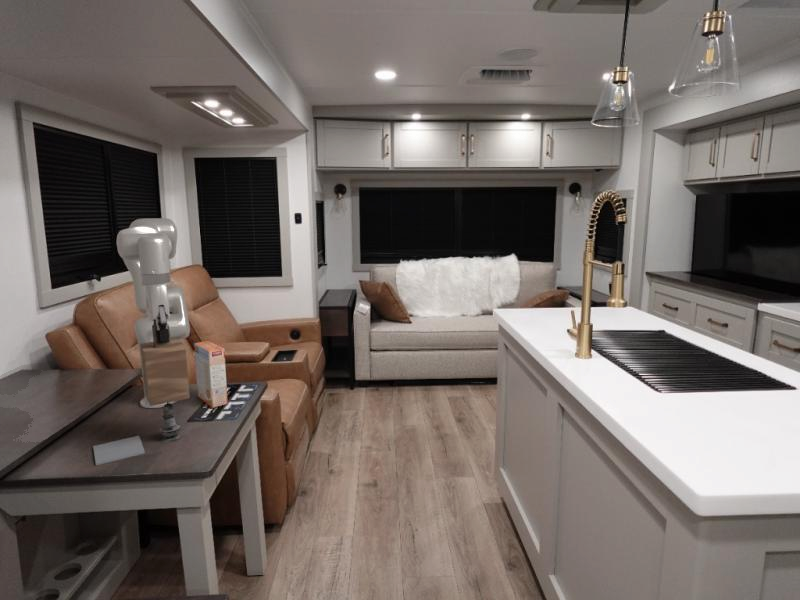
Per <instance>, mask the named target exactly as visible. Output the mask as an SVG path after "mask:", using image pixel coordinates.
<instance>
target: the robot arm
mask: <svg viewBox="0 0 800 600" xmlns="http://www.w3.org/2000/svg"><path fill="white" fill-rule="evenodd" d="M177 244H178V230H177V225H176V224H175V222H174V221H173V220H172V219H170V218H167V217H163V218H161V217H159V218H155V217H154V218H148V217H147V218H137V219H136V220H135V219H134V221H132V222H131V223H130V225H129V227H128V228H124V229H121V230H120V231H119V232H118V233H117V236H116V247H117V253H118V255H119V256H120V257H121V259H122V260H123V262H124V265H125V266H126V268H127V270H128V271H129V273H130V275H131V277H132V285H133V292H134V298H135V299H134V300H135V305H136V309H137V310H138V311H139V312H140V313H142V314H146V315H147V316H146V315H145V316H142V317H139V319H137V320H136V321H135V323H134V326H133V327H134V333H135V337H136V340H137V346H138V351H139V357H140V359H141V351H140V344H143V343H150V342H153V332H152V325H156V326H157V330H156V337H157V343H158V344H161V343H168V342H169V331H168V325H169V330H170V340H171V339H179V340H184V339H187V338H189V336H190V332H191V328H190V319H189V314H188V308H187V300H186V297H185V292H184V290H183V289H182V287H181V286H180V285H177V284H172V285H171V283H172V279H171V271H170V260H172V259H174V258H175V256H176V254H177V246H178V245H177ZM170 312H171V313H170ZM167 324H168V325H167ZM140 366H141V368H142V361H141V360H140ZM141 376H142V378H143V371H142V370H141ZM142 384H143V385H142V386H143V387H144V380H143V379H142ZM143 392H144V393H143V394H144V397H143V398H142V399H141V400H140V402H139V403H140V405H139V406H141V407H142V408H145V409H157V408H160V409H161V408H163V406H164V405H165V404H167V403H163V404H158V405H153V406H150V404H149V402H148V400H147V398H146V395H145V390H144V389H143ZM177 402H179V400H177V401H172V402H169V403H171V404H173V405H174V404H176V403H177Z"/></svg>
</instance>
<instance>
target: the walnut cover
mask: <svg viewBox="0 0 800 600" xmlns="http://www.w3.org/2000/svg"><path fill="white" fill-rule="evenodd" d="M167 325H168V324H167ZM156 330H157V326H156V325H152V332H153V342H150V343H143V344H140V351H141V358H140V362H141V361H142V367H141V372H142V371H143V377H142V381H143V380H144V386H143V391H144V390H145V395H146V398H147V400H148V402H149V404H150V406H153V405H158V404H163V403H168V402H172V401H177V400H178V401H182V400H187V399H190V388H189V387H190V385H189V375H188V374H189V372H188V363H187V351H186V350H187V349H186V346H185V345H184V344H183V343H182V341H181V339H171V340H170V330H169V325H168V331H169V342H168V343H161V344H158V343H157V337H156ZM140 351H139V352H140ZM178 401H177V402H178Z"/></svg>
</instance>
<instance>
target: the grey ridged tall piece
mask: <svg viewBox="0 0 800 600" xmlns="http://www.w3.org/2000/svg"><path fill="white" fill-rule="evenodd" d="M162 409H163V415H162V418H163V425H162V426H160V427H159V431H160V432H161V435H162V436H163V437H162V438H161V441H162V442H164V443H172V442H175V441H178V440H179V439H181V438H182V437H181V434H179V432H180V430H181V423H178V422H176V418H175V416H176V413H175V410H174V404H171V403H169V402H168V403H167V404H165V405H164V406H163V407H162Z"/></svg>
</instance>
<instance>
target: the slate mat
mask: <svg viewBox="0 0 800 600" xmlns="http://www.w3.org/2000/svg"><path fill="white" fill-rule="evenodd" d="M92 447H93V454H94V462H95V466H99V465H104V464H107V463H111V462H115V461H121V460H123V459H124V460H125V459H128V458H131V457H132V458H133V457H136V456H140V455H143V454H144V455H145V454H146V452H145V448H144V446H143V442H142V440H141V438H140V435H135V436H132V437H127V438H122V439H117V440H114V441H110V442H106V443H101V444H96V445H93V446H92Z"/></svg>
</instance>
